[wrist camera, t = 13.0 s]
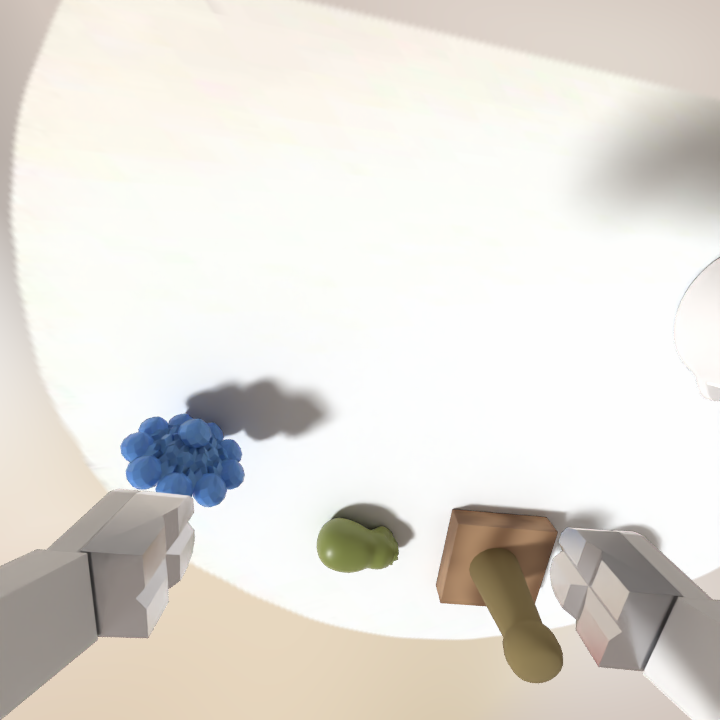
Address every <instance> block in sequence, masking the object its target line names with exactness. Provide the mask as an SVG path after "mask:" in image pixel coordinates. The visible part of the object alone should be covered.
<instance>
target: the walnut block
mask: <svg viewBox="0 0 720 720" xmlns="http://www.w3.org/2000/svg"><path fill="white" fill-rule="evenodd" d="M557 533H558V532H557V531H556V529H555V528H554V527H553V525H552V524H551V523H550V521H549V520H548V519H547V517H539V516H527V515H515V514H503V513H491V512H479V511H467V510H455V509H452V514H451V518H450V523H449V527H448V532H447V537H446V541H445V546H444V550H443V555H442V559H441V564H440V569H439V573H438V578H437V582H436V587H437V591H438V595H439V599H440V603H448V604H462V605H476V606H486V604H485V602H484V600H483V598H482V596H481V595H480V593H479V591H478V589H477V587H476V585H475V583H474V582H473V580H472V578H471V576H470V571H469V568H470V564H471V562H472V560H473V559H474V557H475V556H477V555H478V554H479V553H480V552H483V551H485V550H487V549H492V548H503V549H506V550H509V551H510V552H512V553H513V554H514V555H515V556H516V558H517V560H518V562H519V565H520V567H521V570H522V572H523V575H524V577H525V580H526V583H527V585H528V588H529V590H530V593H531V596H532V598H533V601H534V603H535V601H536V598H537V595H538V592H539V589H540V586H541V583H542V580H543V577H544V574H545V570H546V567H547V564H548V561H549V558H550V555H551V552H552V549H553V546H554V543H555V539H556V536H557Z"/></svg>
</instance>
